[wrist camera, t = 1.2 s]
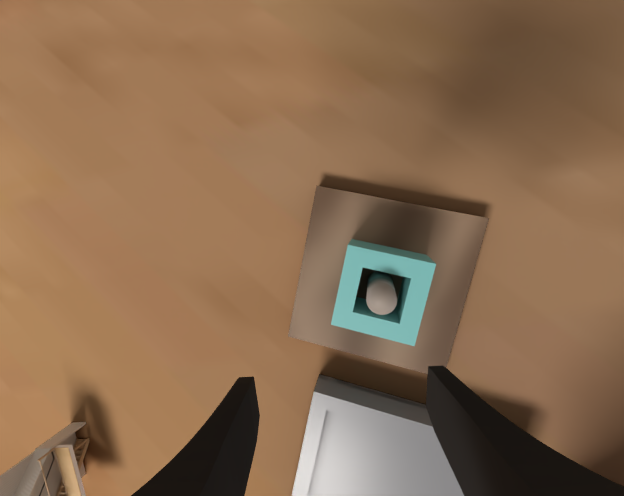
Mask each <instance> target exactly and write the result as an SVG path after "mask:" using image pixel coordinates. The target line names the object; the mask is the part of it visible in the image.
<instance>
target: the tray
mask: <svg viewBox="0 0 624 496" xmlns="http://www.w3.org/2000/svg"><path fill="white" fill-rule="evenodd" d="M292 496H464V494H463V492H462V490H461V488H460V485H459V483H458V481H457V479H456V477H455V475H454V473H453V471H452V468H451V466H450V464H449V462H448V460H447V458H446V456H445V453H444V451H443V449H442V447H441V445H440V443H439V440H438V438H437V436H436V434H435V432H434V429H433V426H432V423H431V420H430V417H429V414H428V411H427V408H426V405H425V404H422V403H418V402H415V401H411V400H408V399H404V398H401V397H397V396H394V395H390V394H387V393H383V392H380V391H376V390H373V389H369V388H366V387H362V386H359V385H355V384H352V383H348V382H345V381H341V380H338V379H334V378H331V377H327V376H324V375H320V374H319V377H318V380H317V383H316V386H315V390H314V393H313V398H312V403H311V407H310V412H309V417H308V422H307V426H306V431H305V436H304V440H303V445H302V450H301V455H300V459H299V464H298V469H297V474H296V478H295V483H294V488H293V492H292Z"/></svg>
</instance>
